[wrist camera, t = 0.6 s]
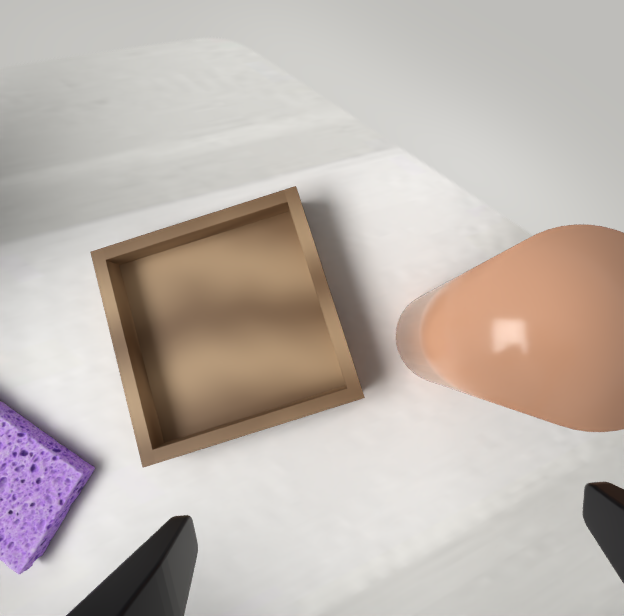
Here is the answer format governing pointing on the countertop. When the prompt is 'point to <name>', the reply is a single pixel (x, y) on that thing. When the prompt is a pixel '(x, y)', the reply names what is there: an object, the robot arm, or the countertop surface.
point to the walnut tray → (223, 327)
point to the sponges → (33, 488)
